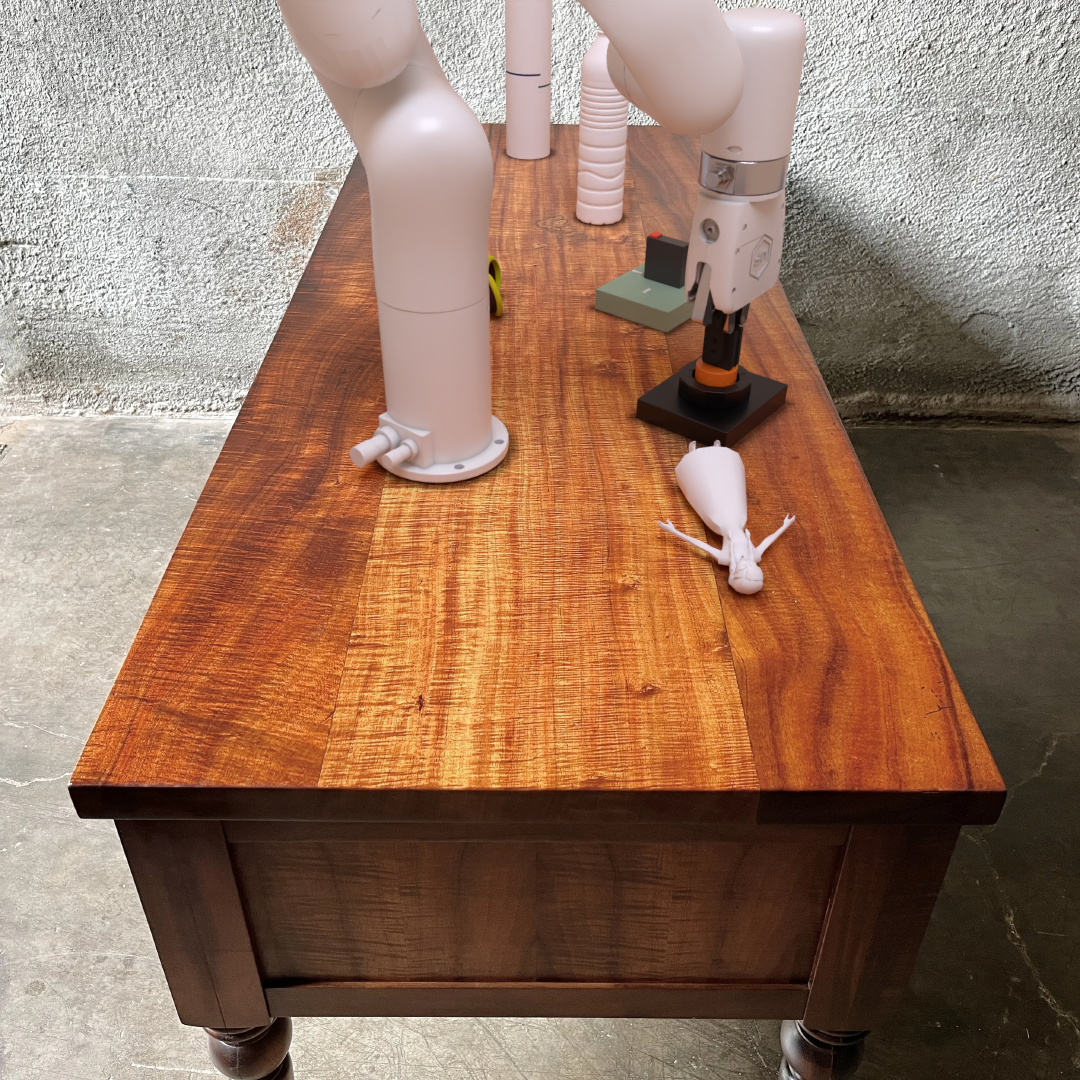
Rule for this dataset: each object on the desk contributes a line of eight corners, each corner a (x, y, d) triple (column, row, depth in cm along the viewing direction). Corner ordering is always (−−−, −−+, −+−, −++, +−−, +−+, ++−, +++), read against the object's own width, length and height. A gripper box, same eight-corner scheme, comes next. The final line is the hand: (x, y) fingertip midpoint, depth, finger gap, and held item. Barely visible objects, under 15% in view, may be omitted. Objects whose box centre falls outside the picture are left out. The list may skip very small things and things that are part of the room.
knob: (686, 284, 121) (691, 240, 118) (679, 288, 120) (683, 244, 117) (651, 273, 124) (654, 230, 121) (643, 277, 123) (646, 234, 120)
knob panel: (666, 333, 117) (668, 311, 115) (594, 309, 122) (595, 287, 120) (729, 293, 126) (732, 272, 124) (660, 272, 131) (661, 252, 129)
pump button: (722, 394, 99) (724, 377, 97) (686, 381, 100) (688, 365, 99) (743, 379, 101) (745, 362, 100) (708, 366, 103) (710, 350, 102)
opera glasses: (462, 295, 126) (452, 256, 123) (504, 286, 126) (495, 247, 123) (461, 330, 119) (451, 290, 116) (506, 321, 118) (497, 280, 115)
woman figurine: (771, 427, 91) (832, 564, 78) (763, 468, 94) (820, 607, 81) (641, 432, 91) (679, 571, 77) (637, 472, 93) (673, 614, 80)
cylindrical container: (501, 148, 172) (499, -22, 157) (542, 144, 173) (544, -24, 158) (513, 160, 166) (512, -14, 151) (555, 157, 168) (558, -16, 153)
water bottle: (620, 227, 143) (632, 28, 128) (573, 224, 144) (579, 26, 129) (625, 205, 150) (636, 15, 135) (580, 203, 151) (587, 13, 136)
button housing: (724, 453, 97) (729, 415, 94) (635, 418, 102) (638, 382, 99) (785, 404, 104) (791, 368, 102) (699, 373, 109) (703, 339, 107)
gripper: (737, 204, 82) (713, 406, 93) (822, 158, 92) (791, 347, 103) (657, 184, 86) (644, 381, 97) (747, 142, 95) (725, 326, 106)
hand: (719, 363), depth 100 cm, fingers closed
